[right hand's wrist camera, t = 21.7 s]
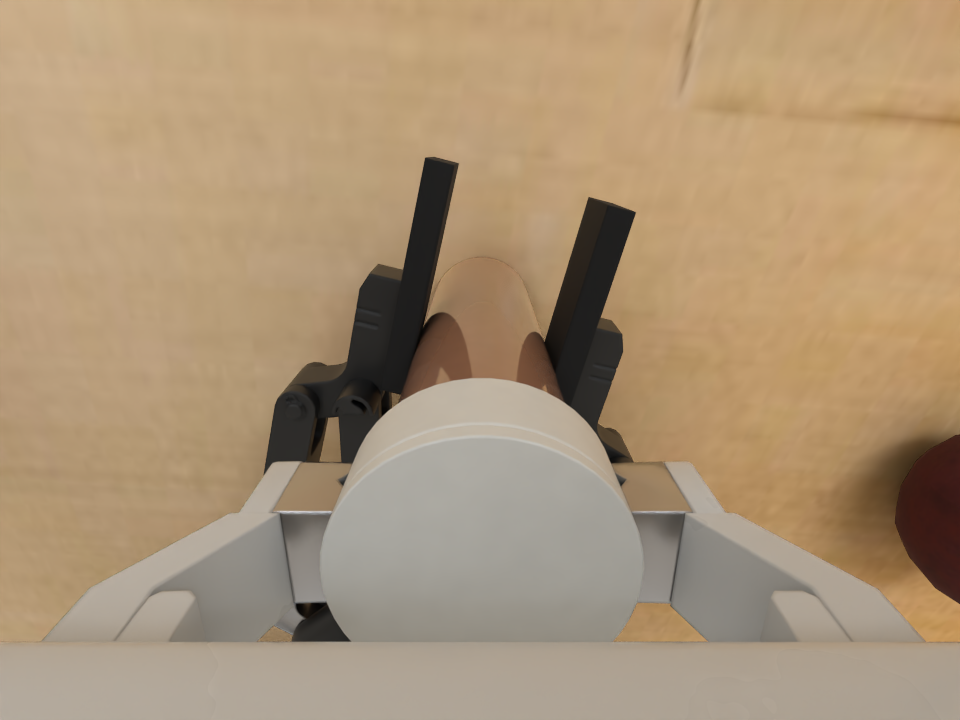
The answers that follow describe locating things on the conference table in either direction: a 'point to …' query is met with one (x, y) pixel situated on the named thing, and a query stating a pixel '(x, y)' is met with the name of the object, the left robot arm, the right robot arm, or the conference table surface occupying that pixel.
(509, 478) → the lid
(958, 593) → the dark brown oval lump
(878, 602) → the right robot arm
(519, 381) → the tan cylinder
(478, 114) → the conference table surface
